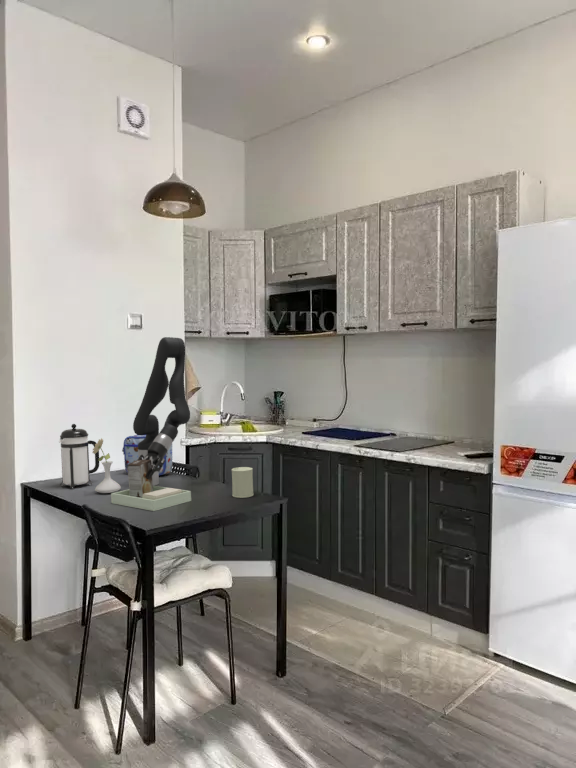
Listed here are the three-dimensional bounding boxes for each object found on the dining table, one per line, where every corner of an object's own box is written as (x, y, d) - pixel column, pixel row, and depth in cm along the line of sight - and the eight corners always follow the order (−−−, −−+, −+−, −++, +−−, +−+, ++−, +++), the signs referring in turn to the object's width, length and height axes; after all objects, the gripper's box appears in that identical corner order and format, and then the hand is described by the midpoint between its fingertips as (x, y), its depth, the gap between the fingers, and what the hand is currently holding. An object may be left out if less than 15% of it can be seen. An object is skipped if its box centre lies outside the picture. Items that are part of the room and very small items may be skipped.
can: (233, 493, 274) (232, 466, 274) (254, 492, 274) (253, 465, 273) (230, 498, 265) (230, 469, 264) (252, 497, 265) (251, 469, 264)
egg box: (142, 506, 250) (142, 493, 249) (169, 499, 261) (168, 487, 261) (156, 508, 245) (155, 496, 245) (182, 501, 256) (182, 489, 256)
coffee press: (88, 488, 292) (86, 425, 291) (54, 489, 292) (52, 425, 291) (100, 481, 309) (98, 421, 308) (68, 482, 310) (66, 422, 308)
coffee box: (140, 496, 266) (137, 459, 264) (153, 496, 264) (151, 459, 262) (129, 502, 257) (126, 464, 255) (143, 503, 255) (141, 464, 254)
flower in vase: (108, 488, 291) (105, 435, 290) (126, 490, 286) (124, 436, 285) (86, 494, 280) (84, 439, 279) (105, 496, 274) (103, 440, 273)
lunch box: (119, 475, 325) (118, 433, 324) (131, 471, 335) (130, 430, 334) (164, 477, 315) (162, 434, 314) (175, 474, 324) (174, 432, 323)
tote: (111, 505, 257) (111, 493, 257) (149, 496, 273) (148, 484, 273) (153, 513, 241) (153, 500, 241) (191, 503, 257) (190, 491, 257)
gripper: (144, 440, 271) (124, 470, 262) (166, 442, 262) (146, 473, 254) (154, 450, 275) (134, 480, 267) (176, 452, 267) (157, 484, 258)
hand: (140, 477), depth 260 cm, fingers closed on coffee box, 8 cm apart
